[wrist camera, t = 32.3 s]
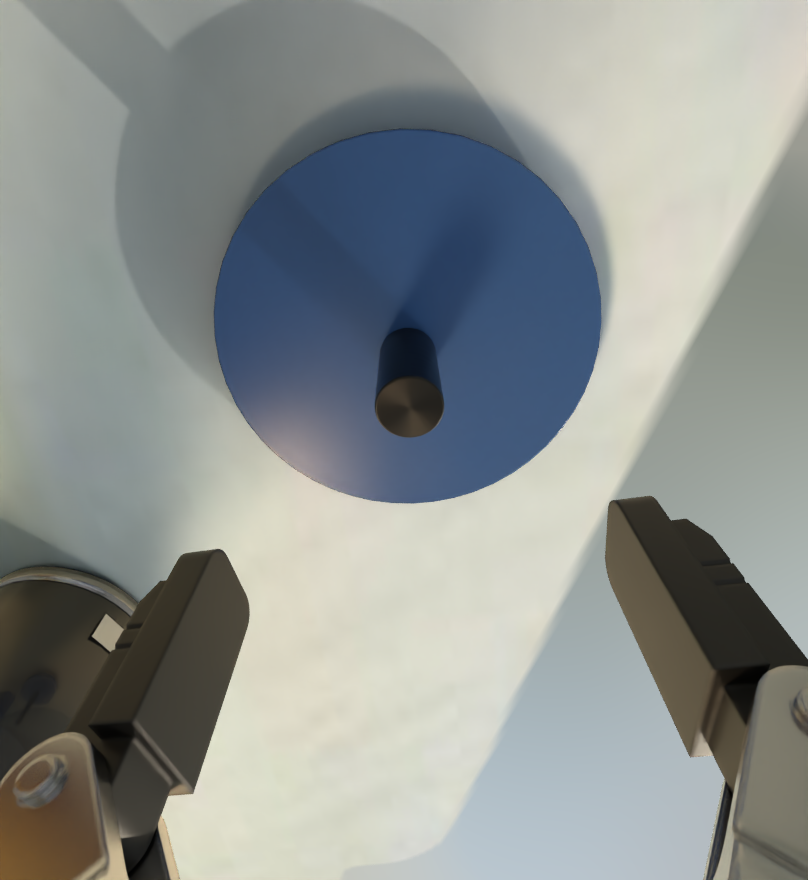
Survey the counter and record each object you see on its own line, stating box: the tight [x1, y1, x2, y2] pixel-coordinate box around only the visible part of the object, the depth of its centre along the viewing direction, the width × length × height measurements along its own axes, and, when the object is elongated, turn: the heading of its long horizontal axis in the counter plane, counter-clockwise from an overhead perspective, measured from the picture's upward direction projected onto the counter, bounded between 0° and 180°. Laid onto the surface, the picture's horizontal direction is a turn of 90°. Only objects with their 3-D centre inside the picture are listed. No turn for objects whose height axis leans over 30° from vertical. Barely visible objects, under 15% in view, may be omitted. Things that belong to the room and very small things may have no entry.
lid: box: [214, 129, 601, 503], centre depth 19 cm, size 16×16×6 cm
